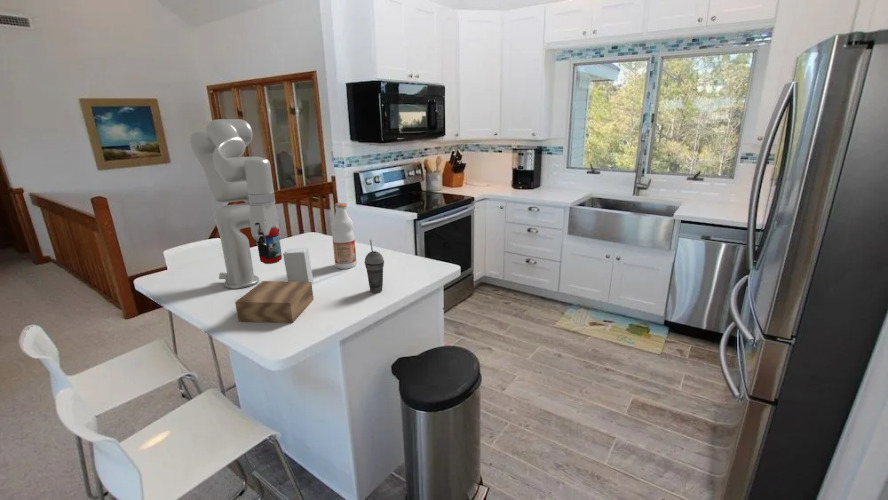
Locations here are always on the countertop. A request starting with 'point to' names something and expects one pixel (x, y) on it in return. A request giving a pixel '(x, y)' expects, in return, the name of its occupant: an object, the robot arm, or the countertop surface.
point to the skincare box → (298, 265)
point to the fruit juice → (343, 238)
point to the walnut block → (275, 302)
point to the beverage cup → (374, 270)
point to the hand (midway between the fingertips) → (270, 252)
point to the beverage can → (272, 247)
